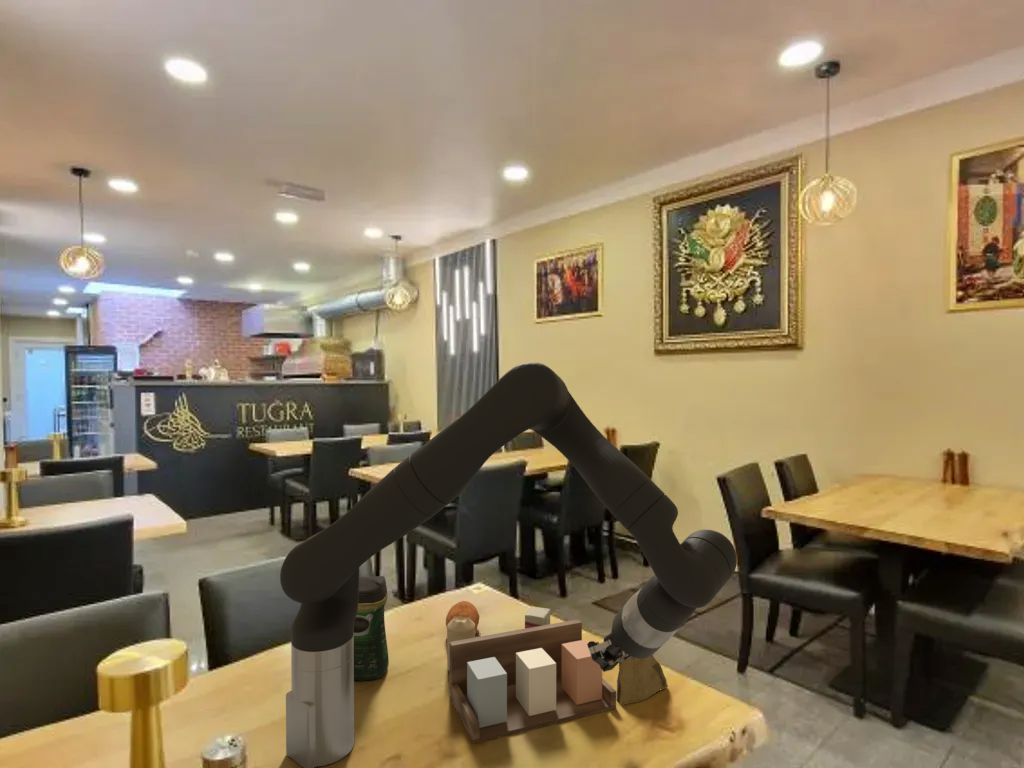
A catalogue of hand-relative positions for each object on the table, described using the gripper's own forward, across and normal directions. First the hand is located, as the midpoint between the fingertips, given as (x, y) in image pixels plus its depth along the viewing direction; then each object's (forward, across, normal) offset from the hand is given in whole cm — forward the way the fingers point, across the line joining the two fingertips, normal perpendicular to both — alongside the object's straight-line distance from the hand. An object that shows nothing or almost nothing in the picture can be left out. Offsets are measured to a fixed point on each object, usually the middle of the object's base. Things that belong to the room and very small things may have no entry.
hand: (604, 664), depth 97 cm
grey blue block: (+12, +18, +1) cm, 22 cm away
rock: (+10, -11, +4) cm, 15 cm away
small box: (+26, 0, -13) cm, 29 cm away
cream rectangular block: (+12, +9, +1) cm, 15 cm away
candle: (+25, +17, -11) cm, 32 cm away
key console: (+13, +9, 0) cm, 16 cm away
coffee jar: (+29, +36, -16) cm, 48 cm away
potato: (+35, +13, -21) cm, 43 cm away
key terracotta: (+12, 0, +1) cm, 12 cm away
